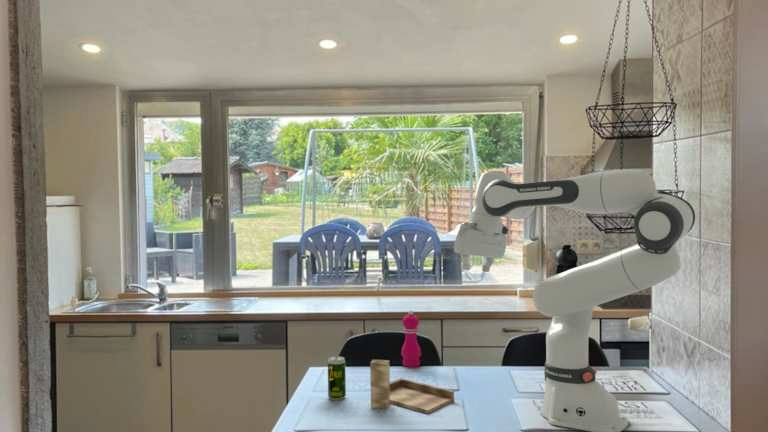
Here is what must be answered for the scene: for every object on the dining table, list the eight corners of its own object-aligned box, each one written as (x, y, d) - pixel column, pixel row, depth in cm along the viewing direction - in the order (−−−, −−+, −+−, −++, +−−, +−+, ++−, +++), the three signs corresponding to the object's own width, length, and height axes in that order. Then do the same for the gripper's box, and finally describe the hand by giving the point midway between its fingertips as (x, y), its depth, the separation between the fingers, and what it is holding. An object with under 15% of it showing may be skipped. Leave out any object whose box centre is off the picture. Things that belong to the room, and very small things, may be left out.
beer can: (329, 394, 174) (328, 356, 173) (346, 394, 174) (345, 356, 173) (327, 400, 168) (326, 361, 168) (345, 400, 168) (344, 360, 168)
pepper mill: (421, 362, 209) (420, 308, 208) (420, 367, 201) (420, 312, 201) (402, 361, 209) (401, 308, 209) (400, 367, 202) (400, 312, 202)
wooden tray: (454, 401, 167) (453, 391, 167) (427, 413, 157) (427, 403, 157) (401, 387, 180) (401, 378, 180) (373, 398, 170) (373, 388, 170)
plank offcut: (389, 404, 165) (389, 360, 165) (387, 408, 161) (387, 363, 161) (373, 403, 166) (372, 359, 165) (370, 407, 162) (370, 362, 162)
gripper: (470, 222, 157) (461, 271, 157) (512, 230, 171) (504, 274, 171) (453, 219, 162) (444, 266, 162) (496, 227, 175) (488, 270, 176)
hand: (475, 270), depth 166 cm, fingers open, 8 cm apart
